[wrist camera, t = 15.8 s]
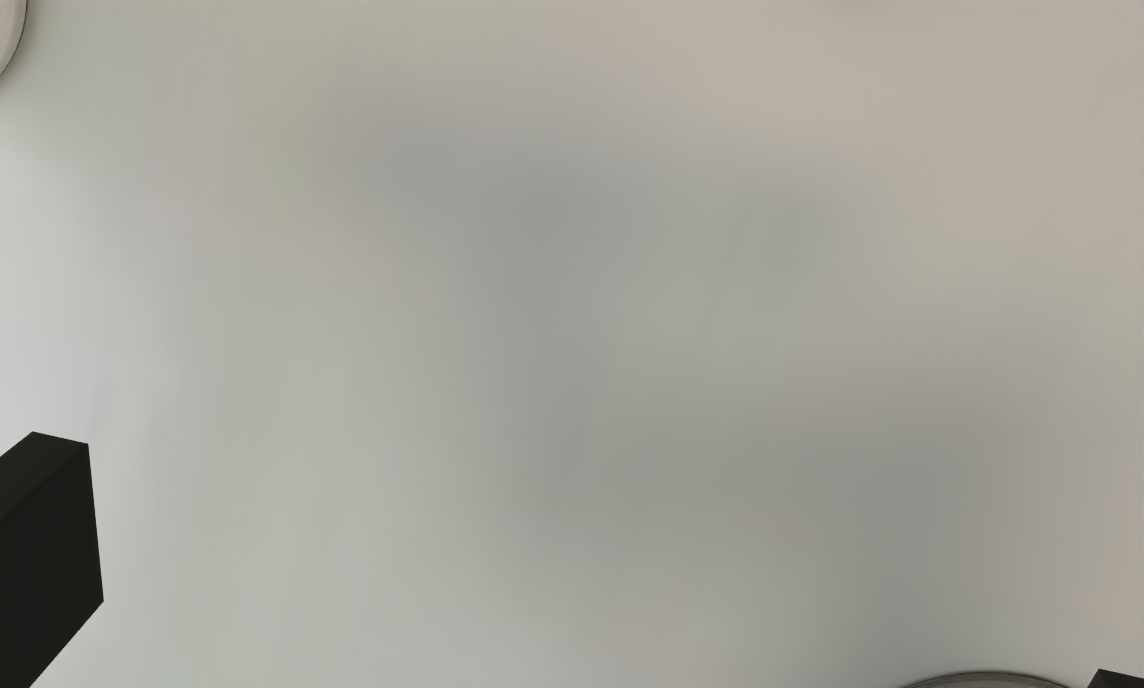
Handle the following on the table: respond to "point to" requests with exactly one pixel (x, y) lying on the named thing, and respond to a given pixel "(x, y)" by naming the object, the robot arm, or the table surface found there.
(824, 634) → the table surface
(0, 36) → the candlestick
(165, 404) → the table surface
